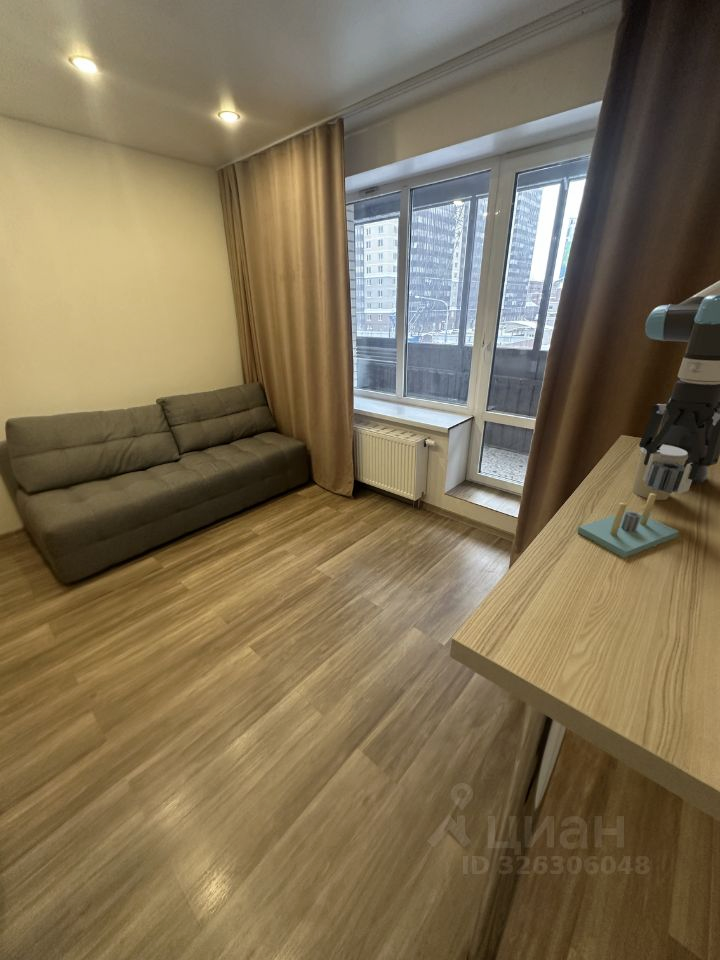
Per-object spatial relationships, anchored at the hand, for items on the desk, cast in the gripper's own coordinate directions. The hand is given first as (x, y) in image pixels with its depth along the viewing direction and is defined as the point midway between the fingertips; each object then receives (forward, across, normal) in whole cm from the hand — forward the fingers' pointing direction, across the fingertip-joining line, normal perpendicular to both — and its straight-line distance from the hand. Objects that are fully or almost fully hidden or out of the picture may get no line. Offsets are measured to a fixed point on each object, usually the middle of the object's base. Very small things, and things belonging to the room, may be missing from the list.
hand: (664, 485), depth 84 cm
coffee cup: (+8, -7, +10) cm, 15 cm away
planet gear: (0, 0, 0) cm, 0 cm away
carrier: (+7, +3, -15) cm, 17 cm away
